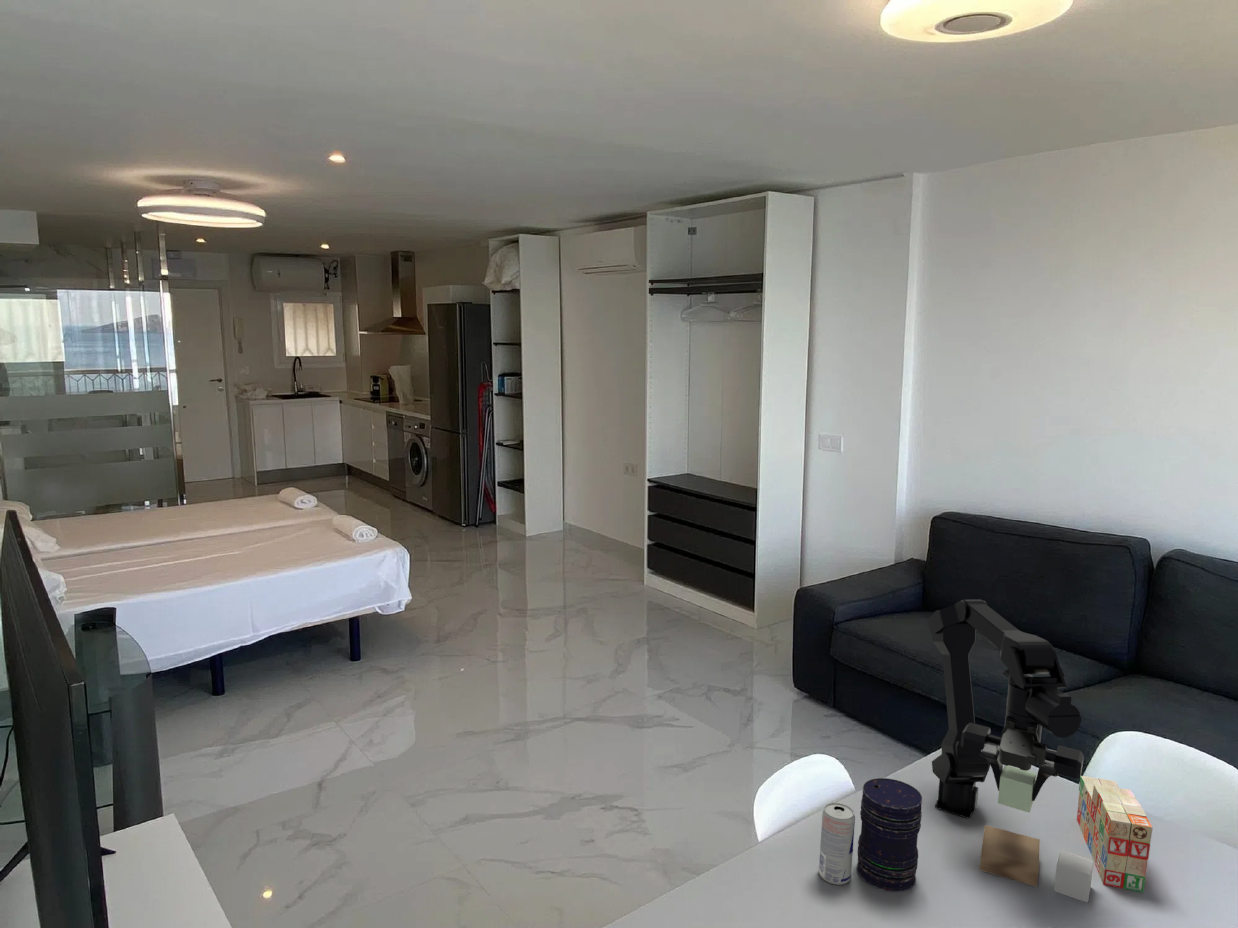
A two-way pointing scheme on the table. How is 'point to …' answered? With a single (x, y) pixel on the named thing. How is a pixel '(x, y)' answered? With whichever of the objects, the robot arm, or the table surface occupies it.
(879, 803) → the storage jar
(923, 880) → the table surface
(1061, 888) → the grey cube
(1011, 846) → the walnut block
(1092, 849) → the stack of blocks
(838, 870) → the energy drink
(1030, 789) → the sage cube
